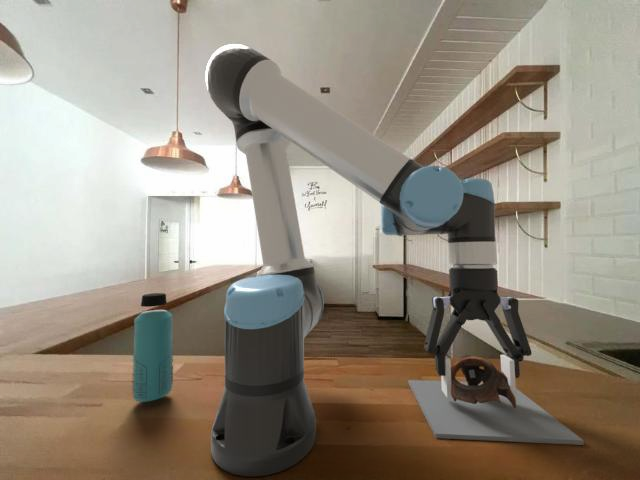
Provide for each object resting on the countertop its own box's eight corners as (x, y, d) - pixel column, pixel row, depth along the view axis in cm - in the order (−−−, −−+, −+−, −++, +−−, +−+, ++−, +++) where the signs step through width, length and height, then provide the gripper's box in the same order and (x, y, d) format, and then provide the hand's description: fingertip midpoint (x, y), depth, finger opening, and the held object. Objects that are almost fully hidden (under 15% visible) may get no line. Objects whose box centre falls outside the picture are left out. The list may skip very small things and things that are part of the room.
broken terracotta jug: (536, 422, 41) (517, 379, 40) (476, 443, 42) (456, 402, 41) (491, 369, 53) (475, 335, 52) (445, 387, 54) (429, 354, 53)
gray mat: (435, 437, 39) (435, 433, 39) (408, 383, 56) (408, 380, 56) (583, 444, 38) (583, 440, 38) (509, 386, 54) (509, 383, 54)
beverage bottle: (177, 400, 50) (179, 292, 52) (136, 416, 46) (139, 297, 47) (166, 389, 55) (168, 290, 56) (126, 402, 50) (129, 293, 51)
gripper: (524, 265, 51) (530, 386, 50) (403, 266, 53) (407, 382, 52) (555, 267, 44) (563, 409, 42) (413, 267, 46) (417, 404, 44)
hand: (477, 394), depth 47 cm, fingers closed on broken terracotta jug, 10 cm apart
